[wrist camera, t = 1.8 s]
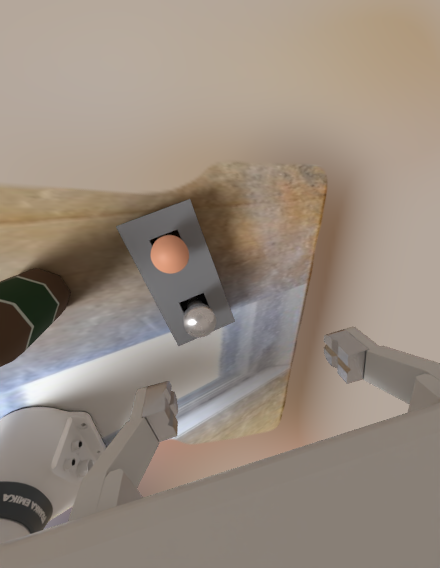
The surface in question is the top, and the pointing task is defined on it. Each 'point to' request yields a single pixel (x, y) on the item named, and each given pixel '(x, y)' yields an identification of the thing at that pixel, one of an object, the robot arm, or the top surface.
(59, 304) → the beer bottle
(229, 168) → the top surface
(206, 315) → the grey mushroom plug
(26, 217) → the top surface
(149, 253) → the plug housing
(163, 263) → the mushroom push button
